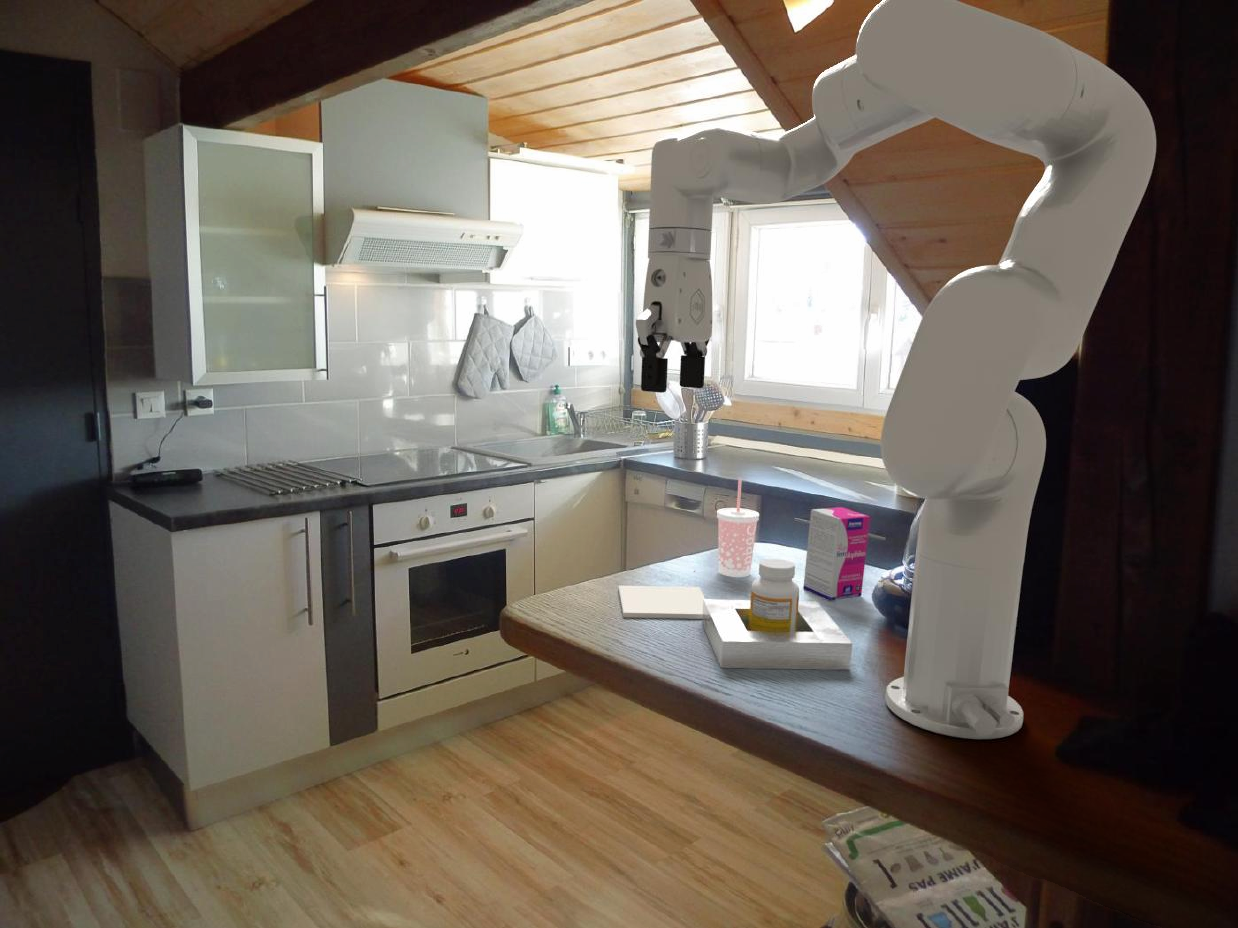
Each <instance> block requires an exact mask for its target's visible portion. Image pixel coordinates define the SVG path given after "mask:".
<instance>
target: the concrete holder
mask: <svg viewBox="0 0 1238 928" xmlns="http://www.w3.org/2000/svg"><path fill="white" fill-rule="evenodd" d="M750 601H751V599H750V600H749V599H748V600H747V599H708V598H705V599H703V614H702V619H701V624H702V626H703V628H704V631H705V633H706V636H707V639H708V641H709V643H710V645H711V648H712V650H713V652H714V654H715V657H716V659H717V661H718V664H719V667H720V668H721V669H761V670H762V669H764V670H765V669H767V670H768V669H773V670H779V669H781V670H825V671H826V670H827V671H828V670H829V671H831V670H834V671H835V670H836V671H838V670H839V671H850V670H851V663H852V662H851V661H852V649H853V642H852V641H851V640H850V639H849V638H848V637H847V636H846V634H845V633H844V632H843V631H842V629H841V628H840V627H839V626H838V625H837V623H836V622H835V621H834V619H832V617H830V615H829V614H828V613H827V612H826V610H824V608H823V607H822V606H821V604H820V603H819V602H818V601H814V600H813V601H809V600H808V601H805V600H804V601H803V600H799V603H798V616H797V629H796V632H779V631H749V617H750Z"/></svg>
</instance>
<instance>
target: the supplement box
mask: <svg viewBox="0 0 1238 928" xmlns="http://www.w3.org/2000/svg"><path fill="white" fill-rule="evenodd" d="M870 518H871V517H870V515H867V514H864V513H861V512H857V511H854V510H851V509H848V508H846V507H844V506H838V507H826V508H816V509H815V508H813V509H811V511H810V519H809V530H808V537H807V538H808V539H807V548H806V557H805V567H804V569H805V570H804V579H803V587H802V589H803V591H806V592H807V593H811V594H813V595H816V596H818V597H820V598H822V599H823V600H827V601H836V600H842V599H849V598H859V597H862V593H863V586H864V585H863V583H864V575H865V565H866V557H867V556H866V555H867V550H868V549H867V547H868V540H869V539H868V538H869V529H870V521H871V519H870Z"/></svg>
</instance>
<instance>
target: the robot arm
mask: <svg viewBox="0 0 1238 928" xmlns="http://www.w3.org/2000/svg"><path fill="white" fill-rule="evenodd" d="M855 43H856V44H855V55H853V56H851V57H849V58H847V59H845V60H844V61H841V62H840V63H838V64H836V65H834V66H832V67H830V68H829V69H826V70H824V72H822V73H821V74H820V75H819V76H818V77H817V79H816V80H815V83H814V85H813V89H812V93H811V105H812V106H811V107H812V108H811V109H812V112H813V113H812V114H813V118H811V119H810V120H807V122H805V123H803V124H800V125H798V126H797V127H794V128H793V129H791V130H788V131H786V132H784V133H782V134H779V135H777V136H773V137H772V136H768V135H764V134H761V133H757V132H753V131H750V130H746V129H739V128H736V127H732V126H727V125H711V126H707V127H704V128H702V129H700V130H696V131H694V132H693V133H690V134H687V135H679V136H678V135H677V136H667V137H664V138H661V139H659V140H658V141H656V142H655V143H654V144H653V147H652V151H651V163H650V165H651V166H650V190H649V191H650V192H649V193H650V194H649V195H650V196H649V216H648V239H647V240H648V242H647V244H648V245H647V258H648V263H647V268H646V275H645V284H644V292H643V304H642V305H643V306H642V313H641V314H640V315H639V316H638V317H637V318H636V319H635V327H636V333H637V336H638V337H637V344H638V345H639V347H640V349H639V355H640V356H639V357H641V376H640V377H641V378H640V380H641V381H640V389H641V391H643V392H649V393H650V392H651V393H666V391H667V389H668V388H667V387H668V386H667V385H668V362H669V360H668V358H665V356H666V354H667V351H668V349H669V347H670V344H671V342H672V341H675V342H677V343H680V345H681V348H682V352H683V354H684V355H683V354H681V355H680V367H679V368H680V369H679V370H680V371H679V373H680V374H679V386H680V387H682V388H691V389H703V388H704V386H705V371H706V370H705V368H706V367H705V366H706V356H707V354H708V344H709V342H710V339H711V337H712V334H713V279H712V268H711V262H710V260H711V255H712V254H711V253H712V252H711V251H712V233H713V232H712V230H713V229H712V228H713V213H714V198H718V199H724V200H730V201H731V200H733V201H739V202H744V203H750V204H756V205H772V204H776V203H779V202H784V201H786V200H789V199H791V198H794V197H796V196H799V195H801V194H804V193H806V192H809V191H810V190H813V189H815V188H817V187H819V186H822V185H824V184H825V183H827V182H829V181H830V180H832V179H833V178H835V177H836V176H837V174H839V173H840V172H841V170H843V169H844V168H845V167H846V166H847V165H848V164H849V163H850V161H851V160H852V158H853V156H854V155H855V154H856V153H858V152H860V151H862V150H865V149H867V148H869V147H871V146H873V145H876V144H878V143H881V142H882V141H885V140H886V139H889V138H891V137H894V136H895V135H897V134H900V133H903V132H905V131H907V130H910V129H911V128H914V127H916V126H919V125H922V124H925V123H926V122H928V121H931V120H933V119H935V118H936V119H938V120H941V121H943V122H945V123H947V124H948V125H952V126H953V127H956V128H958V129H960V130H961V131H964V132H966V133H968V134H971V135H973V136H974V137H977V138H979V139H981V140H984V141H987V142H988V143H990V144H991V143H992V144H994V145H998V146H1001V147H1004V148H1006V149H1010V150H1013V151H1016V152H1019V153H1022V154H1027V155H1030V156H1033V157H1036V158H1037V159H1039V161H1041V162H1043V165H1044V173H1043V175H1042V178H1041V179H1040V181H1039V182H1038V184H1037V185H1036V186H1035V187H1034V189H1033V191H1032V192H1031V193H1030V195H1029V196H1028V197H1027V199H1026V200H1025V202H1024V204H1023V206H1022V208H1021V210H1020V211H1019V214H1018V216H1017V218H1016V220H1015V223H1014V226H1013V229H1012V232H1011V236H1010V238H1009V240H1008V242H1007V245H1006V246H1005V249H1004V252H1003V254H1002V256H1001V258H1000V260H999V262H998V263H997V264H988V265H981V266H976V267H973V268H970V269H967V270H964V271H963V272H960V273H959V274H957V275H956V276H955V277H952V279H950V280H949V281H948V282H946V283H945V285H943V287H941V288H940V290H939V291H938V292H937V293H936V295H935V296H934V297H933V298H932V300H931V301H930V303H929V305H928V306H927V308H926V310H925V312H924V314H923V316H922V317H921V320H920V323H919V326H918V327H917V330H916V333H915V336H914V338H913V341H912V343H911V346H910V349H909V350H908V355H907V357H906V359H905V362H904V365H903V367H902V370H901V373H900V375H899V378H898V381H897V383H896V386H895V389H894V392H893V394H892V397H891V399H890V401H889V404H888V408H887V411H886V413H885V416H884V420H883V423H882V429H881V434H880V454H881V458H882V459H881V460H882V462H883V466H884V468H885V470H886V472H887V474H888V476H889V477H890V479H891V481H893V483H894V484H895V485H896V486H897V487H899V488H900V489H901V490H902V491H904V492H905V493H906V494H909V495H911V496H913V497H916V498H920V499H923V500H925V501H924V503H923V507H922V509H921V510H922V511H921V515H920V520H919V526H918V531H917V539H916V540H917V541H916V549H915V558H914V566H913V577H912V588H911V599H910V607H909V609H910V610H909V616H908V617H909V619H908V630H907V637H906V638H907V639H906V648H905V649H906V650H905V659H904V668H903V669H904V672H903V676H901V677H899V678H896V679H894V680H892V681H891V682H890V683H889V684H888V685H886V689H885V694H884V695H885V696H884V698H885V704H886V705H887V707H888V709H889V710H891V712H893V713H894V715H896V716H897V717H899V718H901V719H902V720H904V721H905V722H908V723H909V724H911V725H913V726H916V727H919V728H920V729H923V730H927V731H929V732H933V733H935V734H939V735H944V736H947V737H948V736H949V737H954V738H959V739H971V740H992V739H993V740H994V739H1001V738H1004V737H1009V736H1011V735H1013V734H1015V733H1017V732H1018V731H1019V730H1020V729H1021V728H1022V726H1023V723H1024V711H1023V709H1022V706H1021V705H1020V704H1019V703H1018V702H1017V701H1016V700H1015V699H1014V698H1012V697H1011V696H1009V690H1010V689H1009V688H1010V687H1009V686H1010V678H1011V672H1012V663H1013V655H1014V644H1015V638H1016V637H1015V636H1016V630H1017V629H1016V627H1017V621H1018V619H1017V618H1018V613H1019V612H1018V611H1019V603H1020V594H1021V588H1022V587H1021V586H1022V578H1023V572H1024V571H1023V570H1024V563H1025V556H1026V549H1027V548H1026V547H1027V539H1028V533H1029V526H1030V519H1031V515H1032V509H1033V506H1034V501H1035V497H1036V494H1037V491H1038V486H1039V483H1040V479H1041V475H1042V472H1043V468H1044V463H1045V457H1046V450H1047V438H1046V437H1047V436H1046V429H1045V426H1044V423H1043V420H1042V417H1041V416H1040V413H1039V412H1038V410H1037V409H1036V407H1035V406H1034V405H1033V404H1032V403H1031V402H1030V400H1028V399H1027V398H1025V397H1024V395H1021V394H1019V393H1018V392H1016V388H1018V387H1017V386H1018V385H1019V382H1020V381H1023V380H1031V379H1032V380H1033V379H1038V378H1043V377H1046V376H1049V375H1052V374H1053V373H1056V372H1058V371H1059V370H1060V369H1061V368H1063V367H1064V366H1066V364H1068V362H1069V361H1070V360H1071V358H1072V357H1073V356H1074V355H1075V353H1076V351H1077V350H1078V347H1079V345H1080V343H1081V340H1082V339H1083V336H1084V333H1085V331H1086V329H1087V327H1088V325H1089V322H1090V320H1091V317H1092V315H1093V312H1094V310H1095V308H1096V306H1097V303H1098V301H1099V298H1100V297H1101V295H1102V291H1103V289H1104V287H1105V285H1106V283H1107V281H1108V278H1109V276H1110V274H1111V272H1112V269H1113V267H1114V264H1115V262H1116V259H1117V255H1119V251H1120V249H1121V247H1122V244H1123V242H1124V239H1125V236H1126V235H1127V232H1128V230H1129V228H1130V226H1131V224H1132V221H1133V219H1134V217H1135V215H1136V212H1137V210H1138V209H1139V206H1140V204H1141V201H1142V199H1143V197H1144V195H1145V192H1146V190H1147V187H1148V184H1149V182H1150V179H1151V176H1152V174H1153V169H1154V165H1155V159H1156V153H1157V135H1156V129H1155V124H1154V120H1153V117H1152V115H1151V112H1150V109H1149V108H1148V106H1147V104H1146V102H1145V101H1144V100H1143V98H1142V97H1141V95H1140V94H1139V93H1138V92H1137V91H1136V90H1135V88H1133V86H1131V85H1130V84H1129V83H1128V81H1126V80H1125V79H1124V78H1123V77H1121V76H1120V75H1119V74H1118V73H1116V71H1114V70H1113V69H1111V68H1110V67H1108V66H1107V65H1105V64H1104V63H1103V62H1101V61H1099V60H1098V59H1096V58H1094V57H1093V56H1091V55H1090V54H1087V53H1085V52H1083V51H1081V50H1079V49H1077V48H1075V47H1074V46H1071V45H1070V44H1068V43H1066V42H1064V41H1063V40H1061V39H1059V38H1057V37H1055V36H1053V35H1051V34H1049V33H1047V32H1045V31H1043V30H1041V29H1038V28H1035V27H1033V26H1030V25H1027V24H1024V23H1021V22H1018V21H1016V20H1013V19H1009V18H1007V17H1004V16H1001V15H999V14H996V13H992V12H990V11H987V10H984V9H982V8H979V7H976V6H972V5H971V4H967V3H965V2H961V1H960V0H959V1H958V0H882V1H881V2H880V3H878V4H877V5H876V6H875V7H874V8H873V9H872V10H871V12H869V14H868V15H867V17H866V18H865V19H864V21H863V23H862V25H861V28H860V29H859V32H858V35H857V38H856V42H855Z"/></svg>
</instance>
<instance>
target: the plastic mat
mask: <svg viewBox="0 0 1238 928" xmlns="http://www.w3.org/2000/svg"><path fill="white" fill-rule="evenodd" d="M618 594H619V601H620V606H621V611H622V616H623V618H642V619H650V618H651V619H686V620H687V619H688V620H689V619H694V620H697V619H698V620H699V619H701V620H702V614H703V599H706V598H705V596H704V593H703V591H702V589H701V587H700V586H659V585H657V586H656V585H655V586H654V585H618Z"/></svg>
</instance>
